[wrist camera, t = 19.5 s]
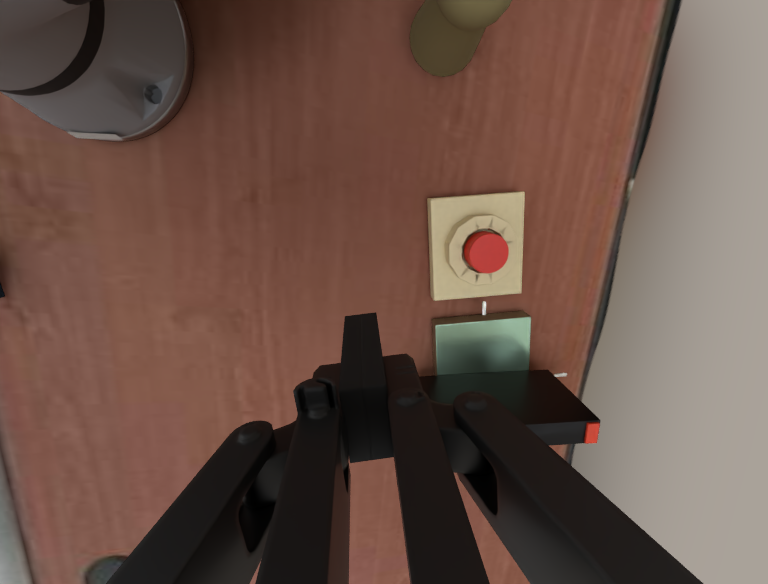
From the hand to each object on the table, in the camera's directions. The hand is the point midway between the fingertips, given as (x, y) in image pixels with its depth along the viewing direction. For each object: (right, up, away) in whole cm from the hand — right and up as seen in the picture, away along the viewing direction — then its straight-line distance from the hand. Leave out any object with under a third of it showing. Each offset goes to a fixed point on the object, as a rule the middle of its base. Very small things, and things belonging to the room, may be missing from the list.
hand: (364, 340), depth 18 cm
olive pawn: (+6, +25, +15) cm, 29 cm away
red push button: (+10, +6, +17) cm, 20 cm away
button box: (+10, +7, +20) cm, 23 cm away
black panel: (+12, -7, +22) cm, 26 cm away
